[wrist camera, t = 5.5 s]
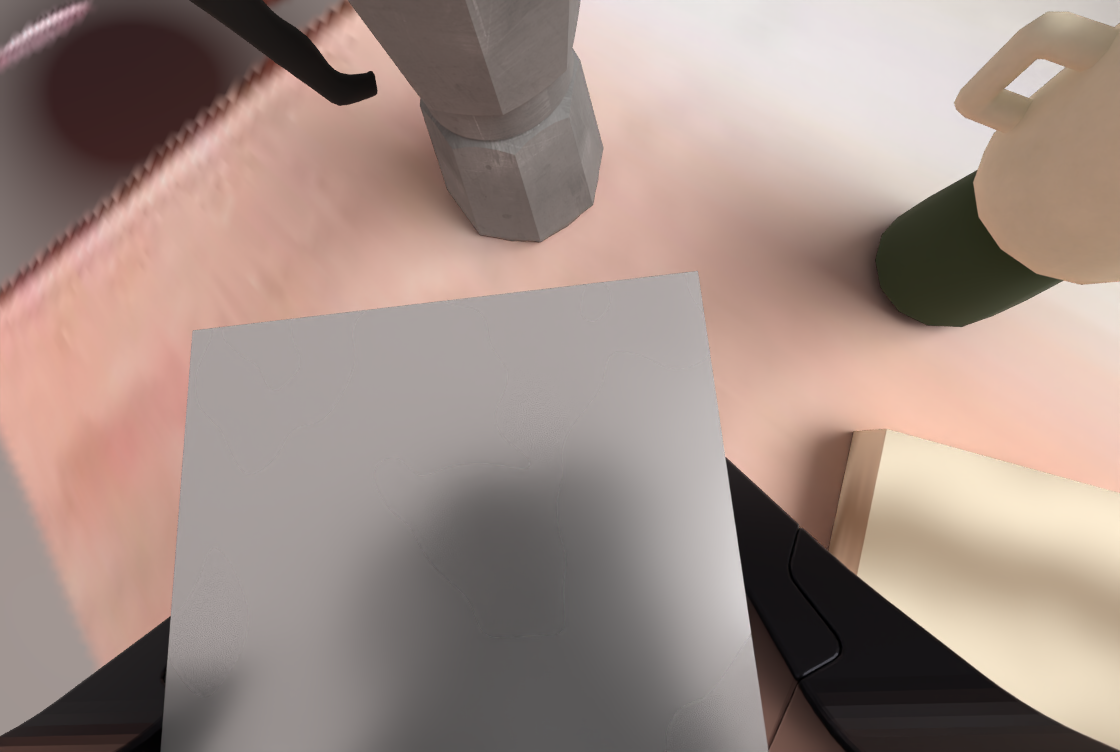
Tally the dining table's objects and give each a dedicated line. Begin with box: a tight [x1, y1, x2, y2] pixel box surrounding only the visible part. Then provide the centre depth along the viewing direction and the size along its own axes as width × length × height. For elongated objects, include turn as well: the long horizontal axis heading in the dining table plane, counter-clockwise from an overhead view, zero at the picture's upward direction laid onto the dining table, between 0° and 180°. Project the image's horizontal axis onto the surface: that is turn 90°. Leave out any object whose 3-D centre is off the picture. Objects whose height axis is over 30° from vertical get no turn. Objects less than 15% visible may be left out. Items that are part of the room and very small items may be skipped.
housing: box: [161, 271, 769, 752], centre depth 10 cm, size 5×5×12 cm
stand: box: [828, 429, 1120, 750], centre depth 18 cm, size 10×10×2 cm
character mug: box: [875, 12, 1120, 327], centre depth 15 cm, size 11×7×13 cm, turn 58°
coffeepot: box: [190, 0, 603, 242], centre depth 16 cm, size 15×9×18 cm, turn 102°
